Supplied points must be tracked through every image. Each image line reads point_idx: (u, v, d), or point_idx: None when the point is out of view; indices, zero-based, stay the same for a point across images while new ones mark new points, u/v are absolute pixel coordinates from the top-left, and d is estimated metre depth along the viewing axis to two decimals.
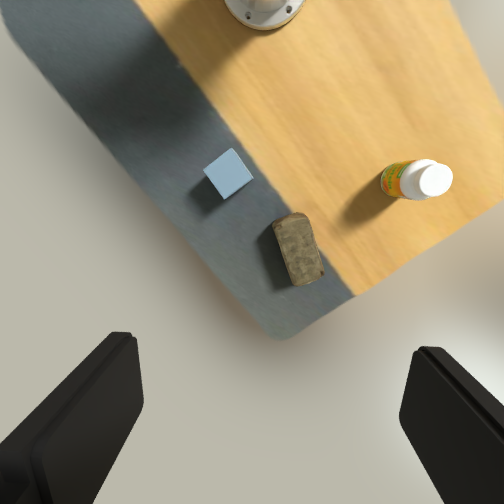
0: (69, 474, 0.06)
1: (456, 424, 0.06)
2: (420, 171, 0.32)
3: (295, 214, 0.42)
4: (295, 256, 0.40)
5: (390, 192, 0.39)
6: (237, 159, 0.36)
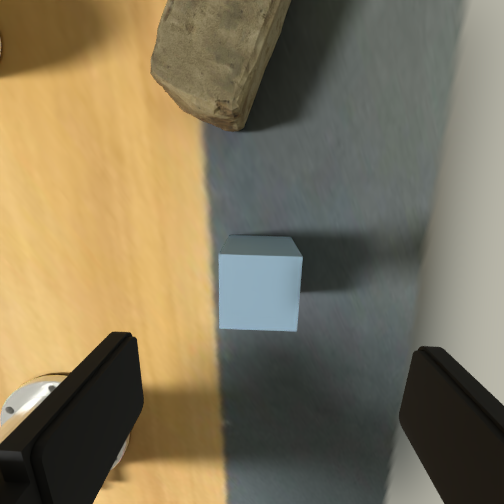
0: (69, 474, 0.06)
1: (456, 424, 0.06)
2: None
3: (184, 107, 0.17)
4: None
5: None
6: (222, 304, 0.16)
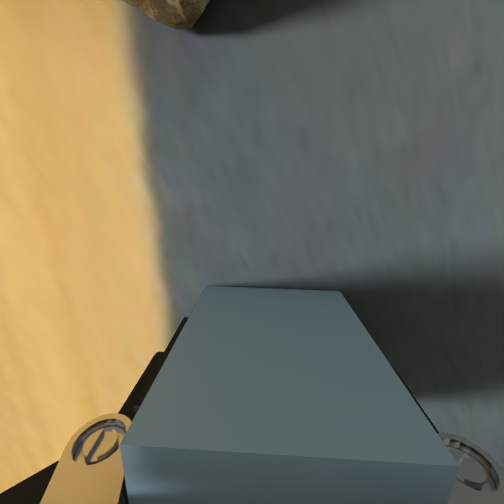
0: None
1: None
2: None
3: None
4: None
5: None
6: None
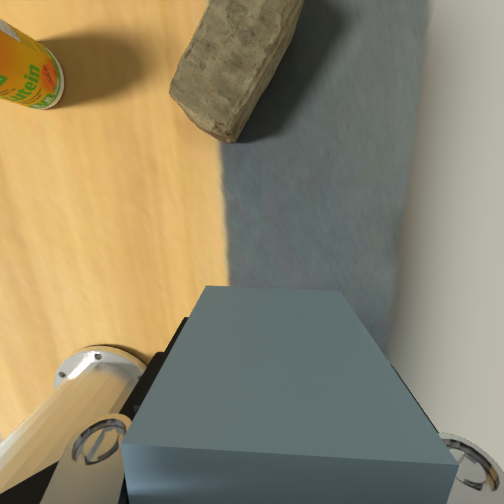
0: None
1: None
2: None
3: (191, 118, 0.22)
4: (244, 47, 0.18)
5: (40, 59, 0.20)
6: None
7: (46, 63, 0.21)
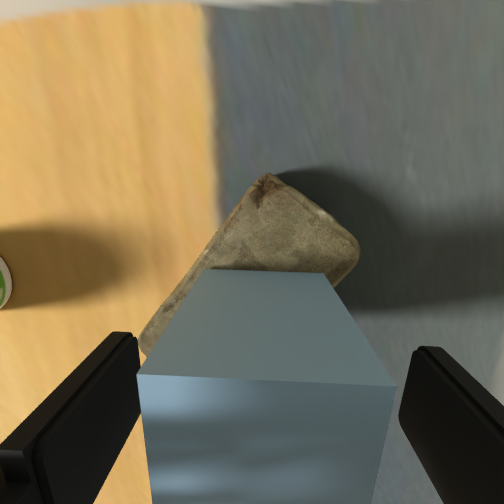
0: (70, 474, 0.06)
1: (455, 424, 0.06)
2: None
3: None
4: None
5: None
6: (159, 492, 0.06)
7: None
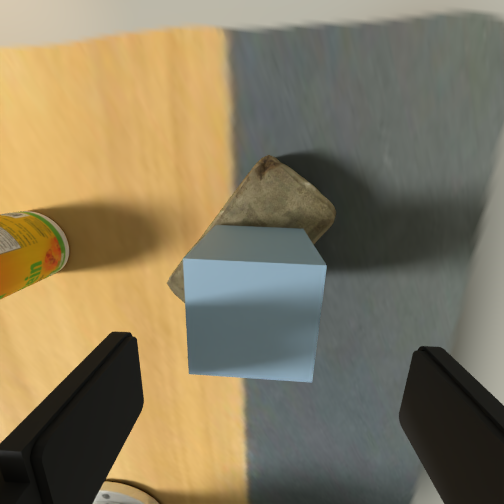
0: (69, 474, 0.06)
1: (456, 424, 0.06)
2: None
3: None
4: None
5: (42, 249, 0.18)
6: (192, 338, 0.10)
7: (49, 247, 0.19)
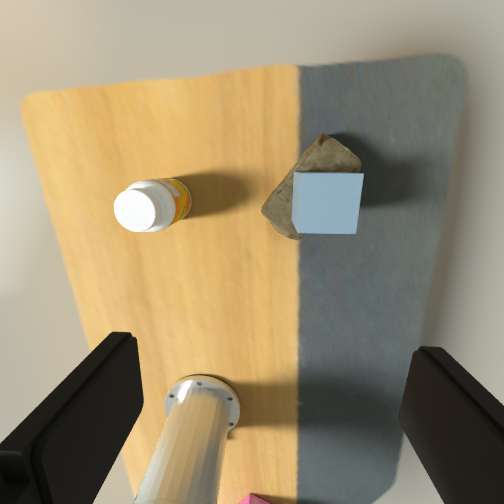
0: (69, 474, 0.06)
1: (456, 424, 0.06)
2: None
3: None
4: None
5: (185, 199, 0.30)
6: (301, 213, 0.22)
7: (187, 198, 0.31)
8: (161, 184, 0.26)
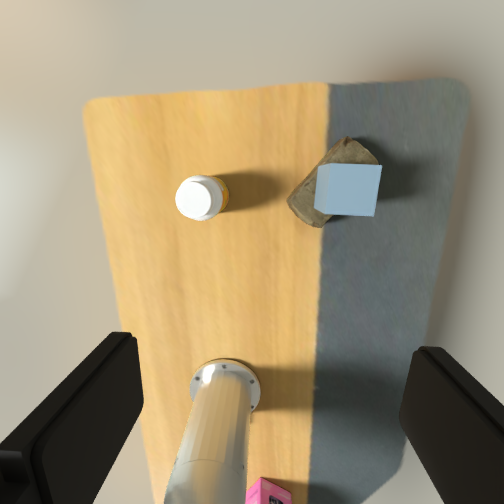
0: (69, 474, 0.06)
1: (456, 424, 0.06)
2: None
3: (292, 208, 0.36)
4: None
5: (226, 194, 0.34)
6: (328, 197, 0.26)
7: (227, 194, 0.35)
8: (212, 179, 0.30)
